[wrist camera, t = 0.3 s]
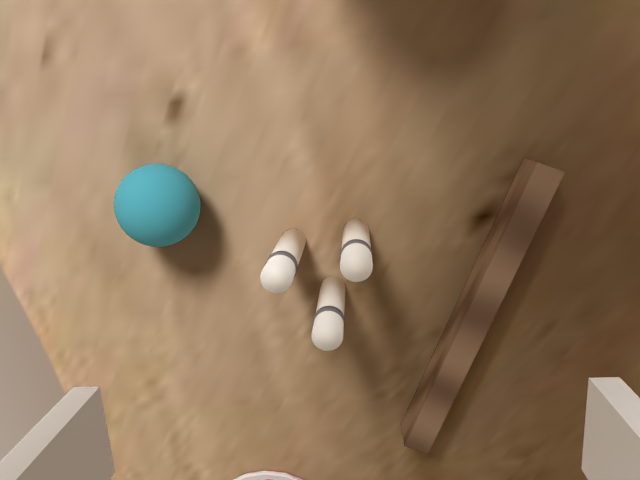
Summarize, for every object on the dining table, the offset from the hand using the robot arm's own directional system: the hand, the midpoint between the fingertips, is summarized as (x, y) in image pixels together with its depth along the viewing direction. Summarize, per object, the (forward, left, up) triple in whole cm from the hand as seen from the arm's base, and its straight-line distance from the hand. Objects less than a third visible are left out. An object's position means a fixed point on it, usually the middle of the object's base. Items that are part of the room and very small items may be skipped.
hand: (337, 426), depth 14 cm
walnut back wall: (+8, +9, -27) cm, 30 cm away
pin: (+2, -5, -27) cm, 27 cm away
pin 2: (+1, 0, -27) cm, 27 cm away
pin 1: (+6, -2, -27) cm, 28 cm away
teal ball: (-3, -14, -24) cm, 28 cm away
